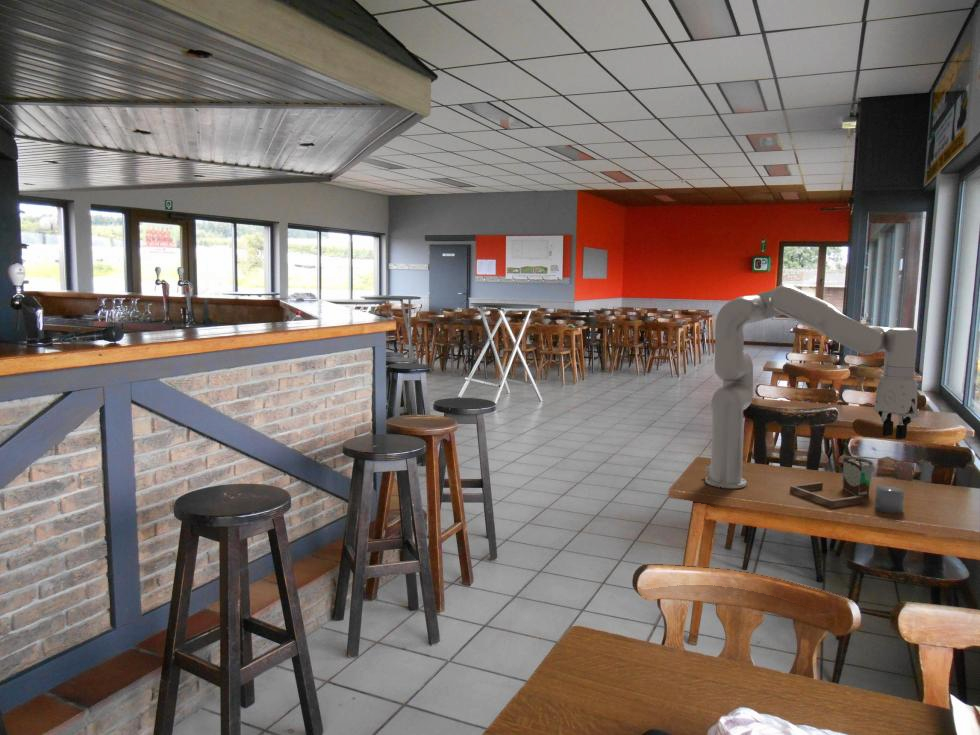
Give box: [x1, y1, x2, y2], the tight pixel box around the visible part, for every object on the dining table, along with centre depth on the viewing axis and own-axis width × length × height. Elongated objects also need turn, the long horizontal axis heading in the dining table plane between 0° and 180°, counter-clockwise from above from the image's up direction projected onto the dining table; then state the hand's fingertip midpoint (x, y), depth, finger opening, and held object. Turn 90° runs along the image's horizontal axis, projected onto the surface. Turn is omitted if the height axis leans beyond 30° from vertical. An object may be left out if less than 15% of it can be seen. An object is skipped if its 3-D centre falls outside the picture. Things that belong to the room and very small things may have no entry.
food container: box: [841, 455, 876, 498], centre depth 222 cm, size 12×6×10 cm, turn 0°
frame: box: [789, 481, 864, 509], centre depth 217 cm, size 16×12×2 cm
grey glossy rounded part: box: [874, 485, 905, 515], centre depth 206 cm, size 7×7×6 cm
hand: (894, 436), depth 204 cm, fingers open, 3 cm apart
